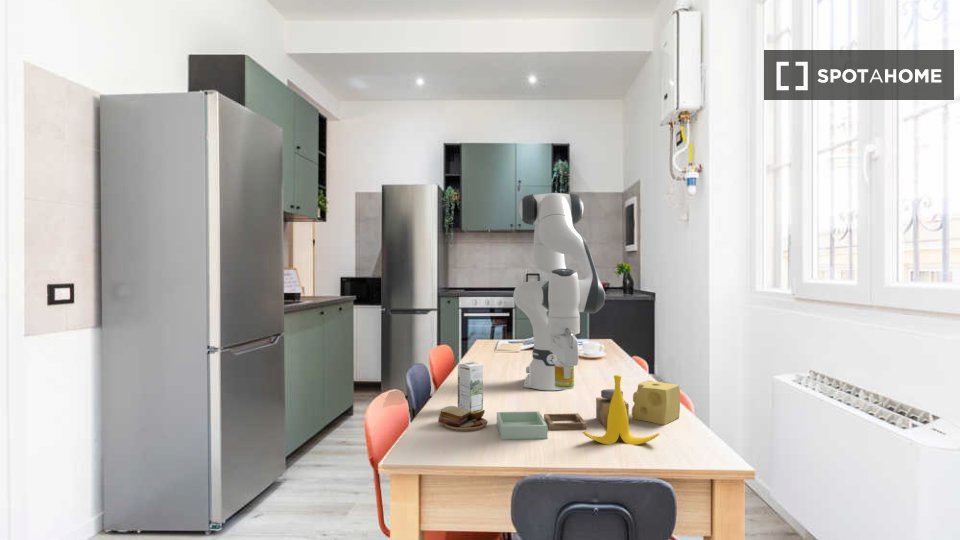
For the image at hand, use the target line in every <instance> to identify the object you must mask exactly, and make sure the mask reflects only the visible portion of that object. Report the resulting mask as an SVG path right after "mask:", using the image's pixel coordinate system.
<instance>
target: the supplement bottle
mask: <svg viewBox="0 0 960 540" xmlns="http://www.w3.org/2000/svg"><path fill="white" fill-rule="evenodd" d="M557 359H558V360H557V361H555V388H557V389H562V390H564V391H566V390H572V389H574V387H575V386H574V385H575V366H572V368H571V377H570V379H565V378H564V377H563V371H564V366H563V363H562V362H561V361H560V360H559V358H558V353H557Z"/></svg>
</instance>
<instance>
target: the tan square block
mask: <svg viewBox="0 0 960 540" xmlns="http://www.w3.org/2000/svg"><path fill="white" fill-rule="evenodd" d="M614 390H615V388H614V389H613V388H612V389H611V388H610V389H609V388H608V389H607V388H606V389H603V390H601V391H600V393H601V395H600V397H595V408H596V410H595V413H596V415H595V418H596V419H597V421H598V422H599V423H600V424H601V425H603V427H607V420H608V411H609V407H610V403H611V400H612V397H613V394H614ZM621 394H622V397H623V395H624V392H623V391H622V390H621ZM623 398H624V397H623ZM624 403H625V406H626V410H627V416H628V424H629V423H630V422H629V421H630V420H629V418H630V415H629V414H630V413H629V411H630V410H629V407H630V406H629V403H627V401H625V400H624ZM629 425H630V424H629Z"/></svg>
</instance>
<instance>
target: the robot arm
mask: <svg viewBox="0 0 960 540" xmlns="http://www.w3.org/2000/svg"><path fill="white" fill-rule="evenodd" d="M584 209H585V208H584V202H583V201H582V197H581V196H580V195H579V194H577V193H562V192H560V193H559V192H551V193H539V194H538V193H537V194H528V195H527V194H526V195H524V196H523V198H521V201H520V203H519V208H518V212H519V213H518V214H519V215H520V218H521V221H522V222H523V223H524V224H526V225H529V226H533V225H534V231H533V264H534V266H535V268H537V269H538V270H540V271H541V272H544V273H545V274H548V275H549V279H548V280H529V281H524V282H520V283H518V284H517V285H516V287H515V288H514V291H513V296H512V297H513V301H514V304H515V306H516V307H517V308H518V309H519V310H520V311H522V312H523V313H524V314H525V315H526V316H527V317H528V320H529V321H530V324H531V326H532V335H533V348H532V351H531V354H532V360H531V362H530V363H529V365H528V366H526V368H525V373H526V374H527V376H526V377H525V379H524V382H523V387H524V388H530V389H534V390H541V391H560V390H561V391H562V390H563V389H557V388H555V361H557V360H558V359H557V353H558V358H559V360H560V361H561V362H562V363H563V366H564V371H563V377H564V378H565V379H570V377H571V368H572V366H574V367H575V366H578V364H579V344H578V339H577V337H576V335H578V334H580V332H581V327H580V326H581V315H580V314H581V313H586V314H595V313H597V312H599V311H600V310H601V309H602V308H603V307H604V306H605V304H606V303H605V301H606V292H605V289H604V287H603V284H602V281H601V280H600V277H599V274H598V272H597V268H596V266H595V262H594V259H593V256H592V252H591V250H590V246H589V244H588V241H587V240H586V238H585V237H584V236H583V235H581V234H580V233H579V232H577V231H576V228H574V225H575V224H578V222H579V221H581V220H582V217H583V214H584ZM565 255H566V256H568V257H570V258H572V259H574V260H575V261H576V263H578V266H579V267H578V268H579V270H580V273H581V277H582V279H579V277H578V276H579V275H578V272H577V271H576V270H574V269H569V268H567V267H566V266H567V265H566V260H565ZM547 312H548V313H547ZM574 387H575V384H574Z"/></svg>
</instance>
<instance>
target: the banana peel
mask: <svg viewBox="0 0 960 540" xmlns="http://www.w3.org/2000/svg"><path fill="white" fill-rule="evenodd" d="M613 379H614V394H613V397H612V400H611V403H610V407H609V411H608V420H607V426H606V431H605V433H604V435H603V436H596V435H592V434H590V433H588V432H586V431H582V432H581V433H582V434H583V435H584V436H585V437H587V438H588V439H591V440H592V441H595V442H598V443H600V444H604V445H612V444H613V445H614V444H615V443H616V442H617V441H618V439H619V437H620V438H621V440H622V441H623V442H624V443H625V444H626V445H630V446H637V445H641V444H646V443H649V441H653V440H654V439H655V438H657V437H659V436H660V435H661V434H660V432H658V433H655V434H653V435H650V436H645V437H639V436H633V434H631V433H630V430H629V429H630V428H629V427H630V424H628V416H627V410H626V406H625V403H624V401H625V400H624V397H622V394H621V391H622V390H621V380H622V375H621V374H614V375H613Z"/></svg>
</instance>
